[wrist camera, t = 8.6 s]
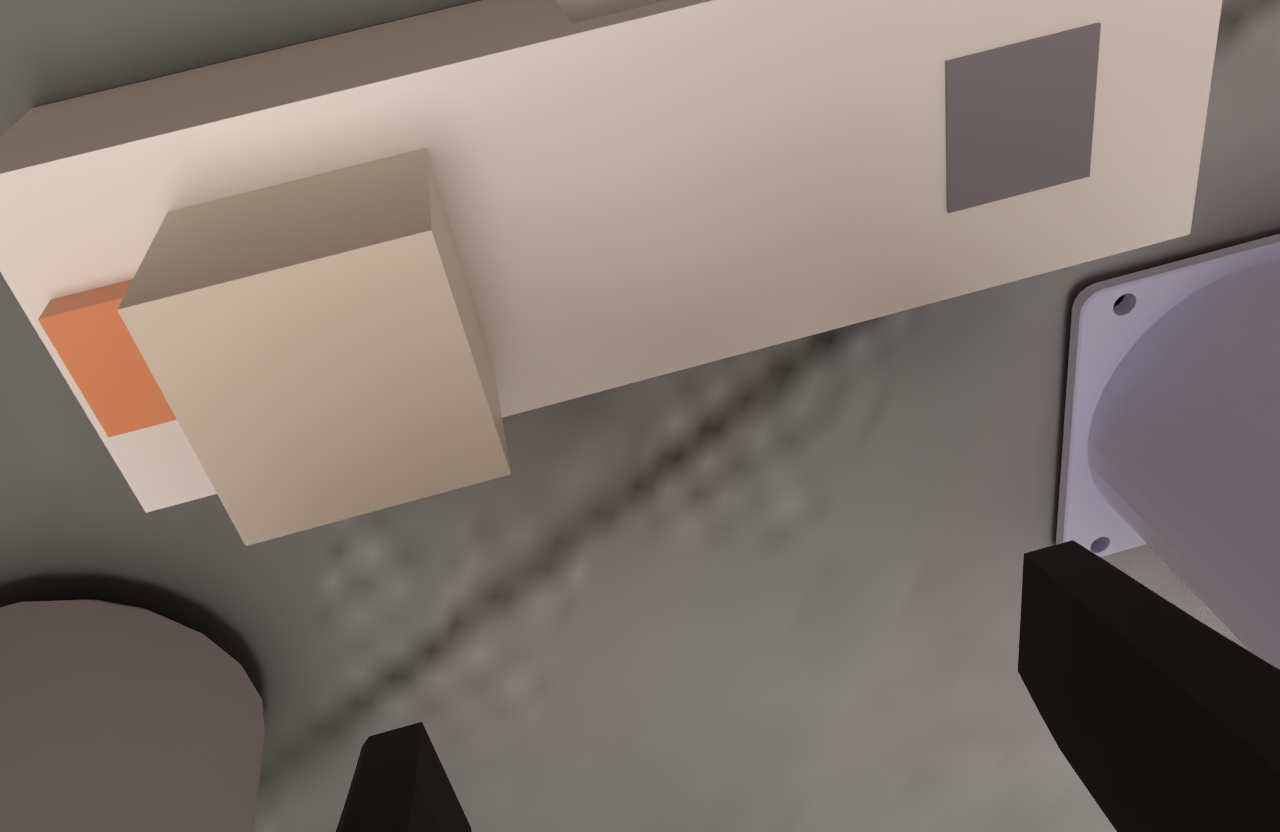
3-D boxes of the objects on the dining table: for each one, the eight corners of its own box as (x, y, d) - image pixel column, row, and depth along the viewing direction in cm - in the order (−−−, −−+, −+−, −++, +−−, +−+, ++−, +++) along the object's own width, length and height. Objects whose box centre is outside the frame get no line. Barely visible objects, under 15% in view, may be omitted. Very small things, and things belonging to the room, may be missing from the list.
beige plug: (425, 147, 14) (431, 230, 12) (493, 364, 16) (510, 474, 14) (168, 211, 14) (116, 310, 11) (269, 423, 16) (245, 546, 13)
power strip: (1094, -147, 17) (1270, -125, 14) (1074, 165, 20) (1212, 247, 17) (32, 108, 16) (-69, 202, 13) (184, 397, 19) (138, 536, 16)
